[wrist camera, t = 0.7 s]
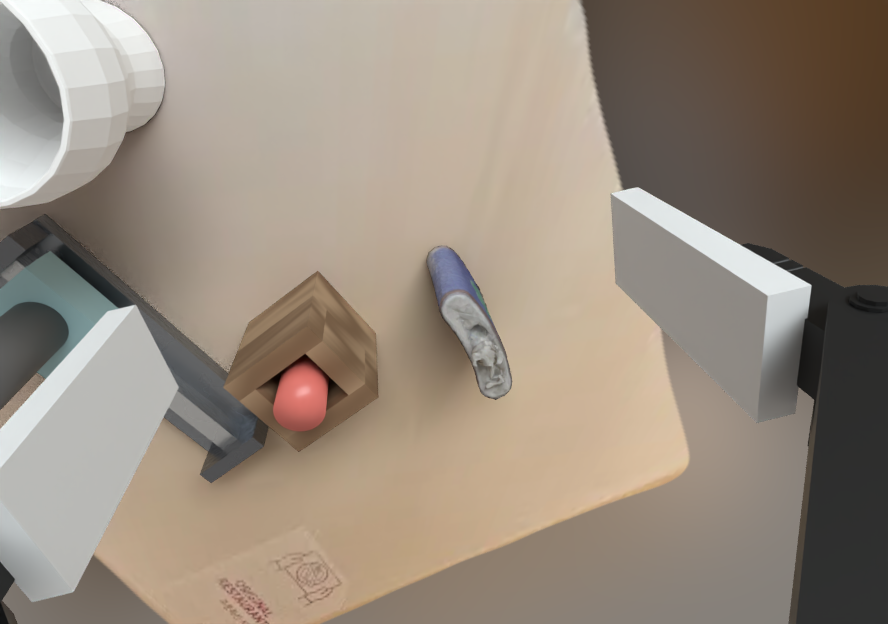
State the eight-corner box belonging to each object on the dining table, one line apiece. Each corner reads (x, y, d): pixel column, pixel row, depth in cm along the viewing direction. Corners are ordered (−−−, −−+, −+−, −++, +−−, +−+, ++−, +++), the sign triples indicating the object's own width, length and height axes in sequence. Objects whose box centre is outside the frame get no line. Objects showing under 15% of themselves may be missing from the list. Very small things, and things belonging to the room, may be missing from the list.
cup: (-33, 69, 34) (-292, 92, 20) (61, -77, 31) (-163, -161, 18) (129, 188, 38) (3, 272, 25) (224, 67, 35) (140, 87, 22)
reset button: (272, 369, 38) (262, 408, 34) (308, 343, 38) (301, 380, 34) (304, 398, 40) (297, 439, 36) (339, 374, 39) (336, 412, 35)
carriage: (-5, 296, 38) (-173, 417, 26) (52, 248, 37) (-95, 350, 25) (72, 355, 40) (-50, 488, 29) (127, 311, 39) (25, 430, 28)
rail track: (-14, 265, 39) (-54, 289, 35) (44, 214, 38) (10, 233, 34) (221, 449, 48) (209, 484, 45) (273, 412, 47) (265, 445, 44)
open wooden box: (242, 327, 44) (215, 393, 36) (317, 270, 42) (307, 325, 34) (303, 384, 47) (291, 457, 39) (375, 333, 45) (378, 397, 37)
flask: (420, 252, 43) (437, 315, 33) (454, 236, 43) (481, 294, 33) (467, 344, 47) (493, 423, 37) (498, 329, 47) (533, 405, 37)
